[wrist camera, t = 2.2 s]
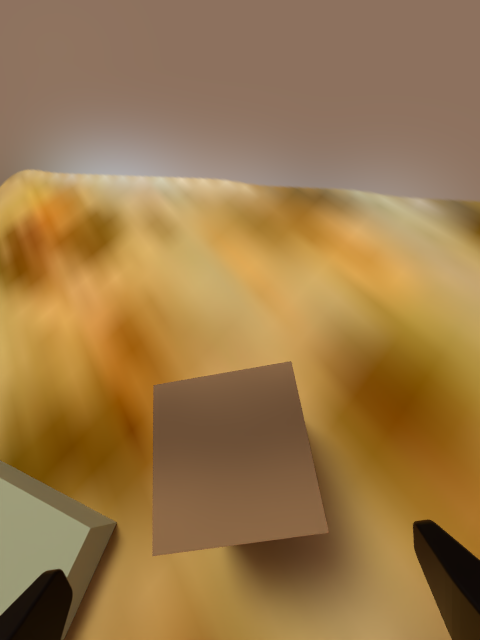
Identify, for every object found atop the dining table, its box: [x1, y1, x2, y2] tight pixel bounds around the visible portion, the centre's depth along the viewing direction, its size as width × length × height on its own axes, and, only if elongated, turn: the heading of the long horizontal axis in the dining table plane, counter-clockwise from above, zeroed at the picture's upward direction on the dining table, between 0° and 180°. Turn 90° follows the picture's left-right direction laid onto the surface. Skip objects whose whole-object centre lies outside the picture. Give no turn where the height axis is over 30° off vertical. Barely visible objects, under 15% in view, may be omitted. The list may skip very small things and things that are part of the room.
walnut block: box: [153, 361, 329, 556], centre depth 14 cm, size 5×5×9 cm
